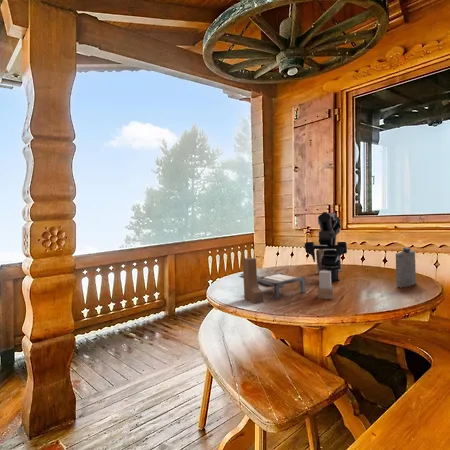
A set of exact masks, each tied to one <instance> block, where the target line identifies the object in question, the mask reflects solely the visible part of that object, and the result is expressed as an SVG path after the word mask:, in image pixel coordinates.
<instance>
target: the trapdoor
mask: <svg viewBox="0 0 450 450" xmlns="http://www.w3.org/2000/svg"><path fill="white" fill-rule="evenodd" d="M276 274H277V273H276ZM271 275H272V274H271ZM266 276H267V275H266ZM294 278H297V277H296V276H291V275H285V274H283V275H281V274H277V275H272V276H267V277H264V278H263V279H265V280H269V281H273V282H280V281H285V280H290V279H294ZM260 283H261V284H264V285H266V283H262V282H260ZM267 286H271V287H274V285H270V284H267ZM279 288H282V287H281V285H279Z"/></svg>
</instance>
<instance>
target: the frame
mask: <svg viewBox="0 0 450 450" xmlns="http://www.w3.org/2000/svg"><path fill="white" fill-rule="evenodd" d="M277 274H281V275H284V272H278V273H273V274H272V273H271V274H268V275H263V276H259V277H257V283H258V287H259V283H261V282H262V283H261V284H263V283H266V284H270V285H269V286H271V285H274V286H273V291H274V292H273V293H274V296H273V297H274V300H280V297H281V296H280V288H284V287H285V285H288V284H292V283H297V282H300V283H299V284H300V286H299V287H300V293H302V294H304V293H306V277H305V276H299V277H296V278H294V279H290V280H285V281H280V282H273V281H269V280H265V279H263V278H264V277H267V276H272V275H277ZM266 284H265V285H266ZM279 285H281V287H279ZM259 288H260V287H259Z"/></svg>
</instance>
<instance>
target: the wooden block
mask: <svg viewBox="0 0 450 450" xmlns="http://www.w3.org/2000/svg"><path fill="white" fill-rule="evenodd" d="M242 270H243V271H242V273H243V275H242V277H243V294H244V295H243V296H244V300H246V299H247V300H246V301H248V300H249V301H248V302H250V303H253V304H259V303H264V300H265V298H264V291H263V290H261V289H260V287H258V285H259V282H258V283H257V276H258V274H257V270H258V269H257V258H253V257H246V258H242Z"/></svg>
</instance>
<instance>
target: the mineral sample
mask: <svg viewBox="0 0 450 450" xmlns="http://www.w3.org/2000/svg"><path fill="white" fill-rule="evenodd" d="M324 251H327V250H321V249H315V261H316V266H317V267H316V270H317V274H319V272H320V271H324V269H322V258H323V254H324ZM335 251H336V250H335ZM339 260H340V264H341V269H338V273H339V272H341V271H342V270H343V268H342V261H341V256H340V257H339ZM336 267H338V266H336Z"/></svg>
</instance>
